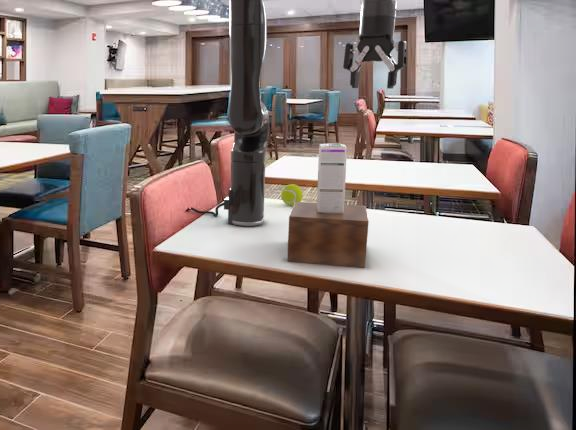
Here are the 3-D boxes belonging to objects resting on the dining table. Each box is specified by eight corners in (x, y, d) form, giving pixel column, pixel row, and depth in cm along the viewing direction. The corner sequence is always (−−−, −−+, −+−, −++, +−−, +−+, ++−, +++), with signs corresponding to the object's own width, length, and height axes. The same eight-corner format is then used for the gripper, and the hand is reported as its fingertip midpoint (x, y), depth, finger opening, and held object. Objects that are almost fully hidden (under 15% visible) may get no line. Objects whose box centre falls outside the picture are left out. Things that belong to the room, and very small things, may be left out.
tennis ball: (278, 206, 168) (278, 185, 166) (283, 202, 174) (284, 181, 172) (299, 208, 165) (300, 186, 163) (304, 204, 171) (305, 183, 169)
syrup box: (344, 214, 116) (348, 146, 112) (315, 212, 117) (319, 145, 113) (342, 208, 121) (346, 143, 118) (315, 207, 122) (318, 142, 119)
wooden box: (287, 261, 116) (289, 216, 114) (293, 242, 130) (295, 201, 128) (364, 267, 112) (368, 221, 110) (362, 247, 126) (365, 205, 124)
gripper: (341, 16, 125) (337, 88, 129) (403, 11, 116) (396, 88, 120) (355, 19, 131) (350, 88, 135) (415, 14, 122) (408, 88, 126)
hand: (372, 88), depth 128 cm, fingers open, 8 cm apart
